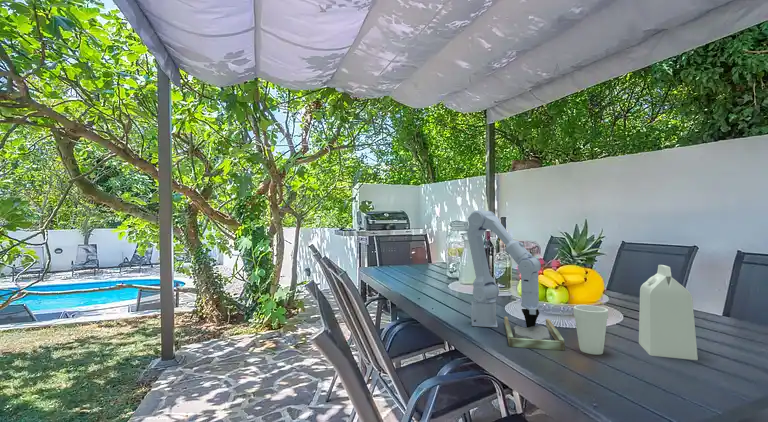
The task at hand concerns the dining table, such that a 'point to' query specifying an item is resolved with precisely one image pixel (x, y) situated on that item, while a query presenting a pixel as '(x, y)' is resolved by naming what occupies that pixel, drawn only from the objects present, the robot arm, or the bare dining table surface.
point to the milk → (666, 317)
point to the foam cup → (591, 327)
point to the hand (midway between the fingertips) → (530, 330)
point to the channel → (536, 343)
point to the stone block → (531, 332)
